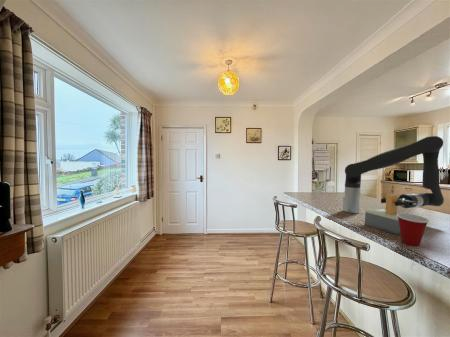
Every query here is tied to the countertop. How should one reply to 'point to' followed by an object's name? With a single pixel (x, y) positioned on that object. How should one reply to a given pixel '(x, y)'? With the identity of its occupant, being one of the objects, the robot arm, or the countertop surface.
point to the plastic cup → (412, 228)
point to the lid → (387, 208)
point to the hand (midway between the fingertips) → (388, 202)
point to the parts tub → (382, 223)
